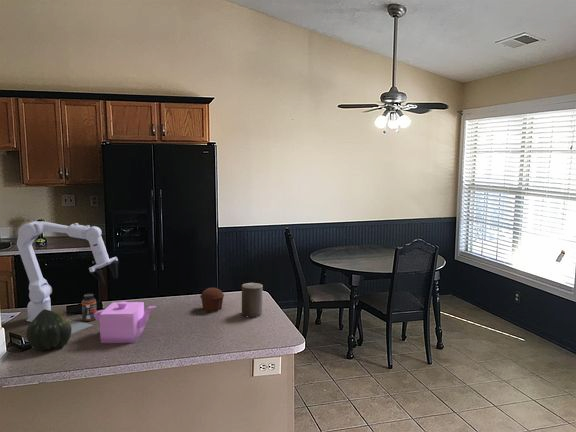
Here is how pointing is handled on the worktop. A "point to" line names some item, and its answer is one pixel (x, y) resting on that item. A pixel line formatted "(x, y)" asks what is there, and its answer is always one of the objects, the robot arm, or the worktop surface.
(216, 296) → the muffin
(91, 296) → the supplement bottle
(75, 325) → the mat
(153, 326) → the worktop surface
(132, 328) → the teapot
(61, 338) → the squash
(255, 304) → the grey lidded canister
